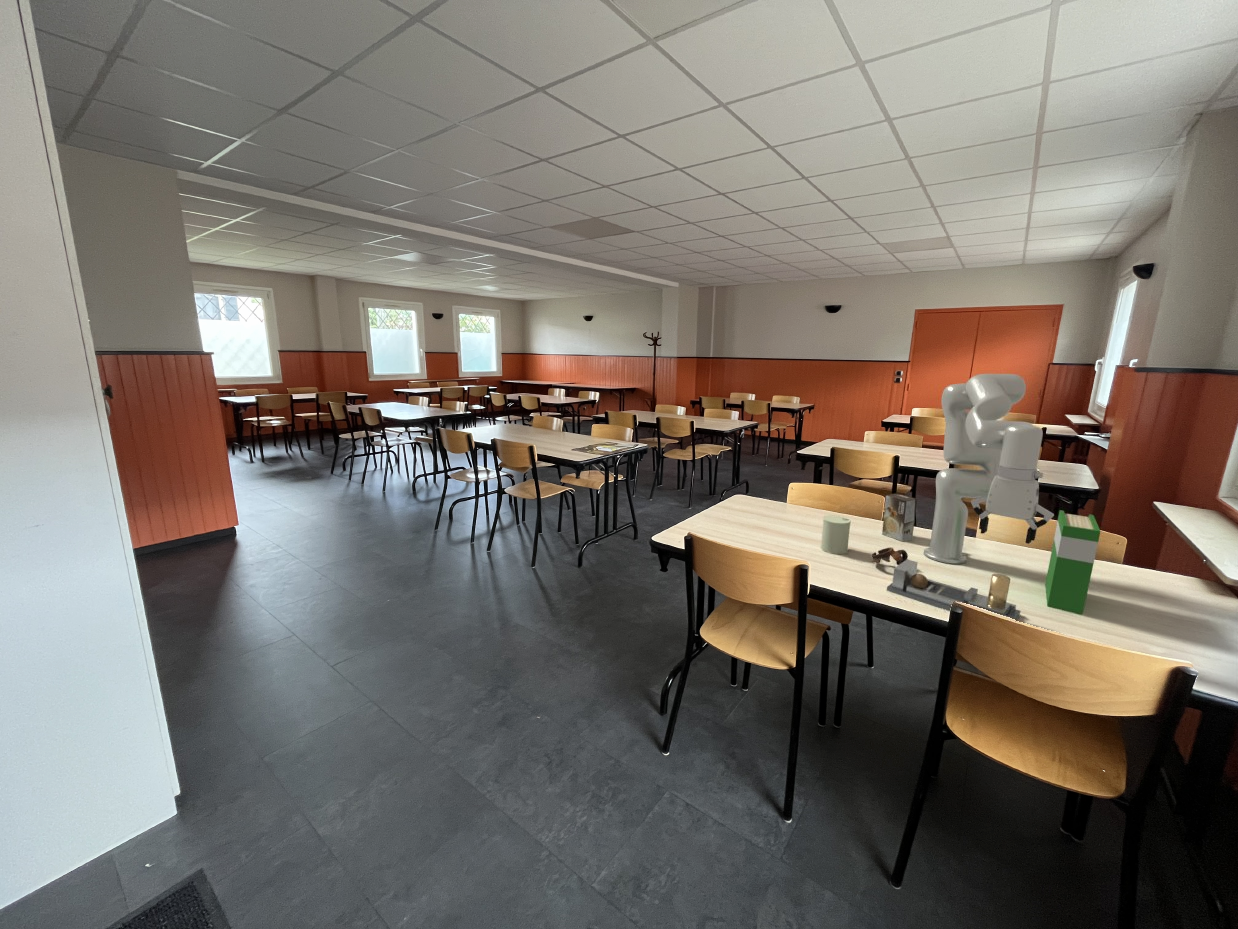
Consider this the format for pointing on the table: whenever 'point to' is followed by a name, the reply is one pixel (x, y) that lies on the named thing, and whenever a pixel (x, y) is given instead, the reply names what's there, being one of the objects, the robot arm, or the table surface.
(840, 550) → the can
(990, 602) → the jaw carriage
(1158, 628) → the table surface
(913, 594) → the base
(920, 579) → the walnut
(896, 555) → the rusty shackles
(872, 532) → the table surface
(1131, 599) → the table surface
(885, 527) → the coffee box
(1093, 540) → the hardback book
